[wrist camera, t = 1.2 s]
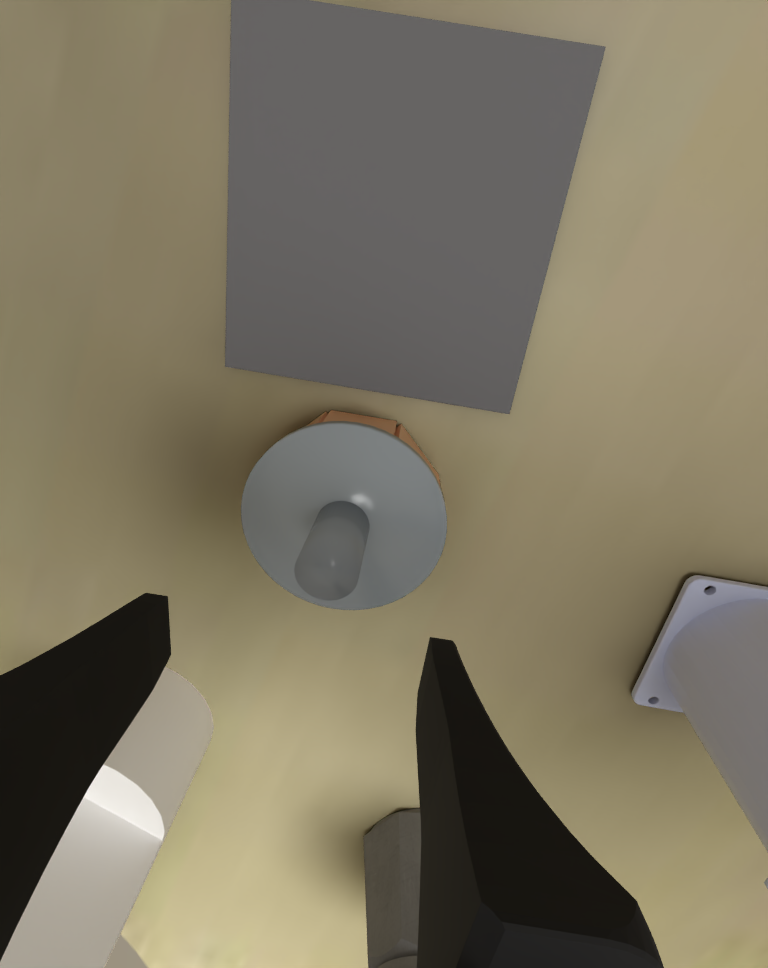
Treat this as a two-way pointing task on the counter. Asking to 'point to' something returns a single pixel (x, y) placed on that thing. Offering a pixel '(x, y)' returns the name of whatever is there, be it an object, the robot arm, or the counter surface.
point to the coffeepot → (393, 889)
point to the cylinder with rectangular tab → (115, 834)
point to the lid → (344, 515)
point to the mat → (394, 196)
